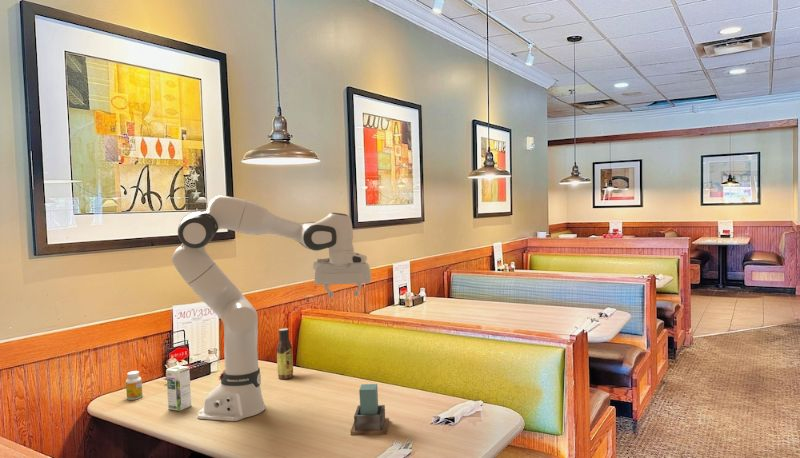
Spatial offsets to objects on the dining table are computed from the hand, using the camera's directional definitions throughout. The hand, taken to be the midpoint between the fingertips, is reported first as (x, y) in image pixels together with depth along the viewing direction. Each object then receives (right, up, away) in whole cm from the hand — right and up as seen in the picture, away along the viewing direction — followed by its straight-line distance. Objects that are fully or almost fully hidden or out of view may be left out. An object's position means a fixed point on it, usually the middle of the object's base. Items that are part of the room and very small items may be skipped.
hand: (343, 296), depth 196 cm
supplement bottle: (-81, -40, +12) cm, 91 cm away
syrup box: (-59, -40, 0) cm, 71 cm away
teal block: (+11, -37, -25) cm, 46 cm away
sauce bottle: (-27, -37, +29) cm, 54 cm away
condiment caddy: (+11, -38, -25) cm, 47 cm away
